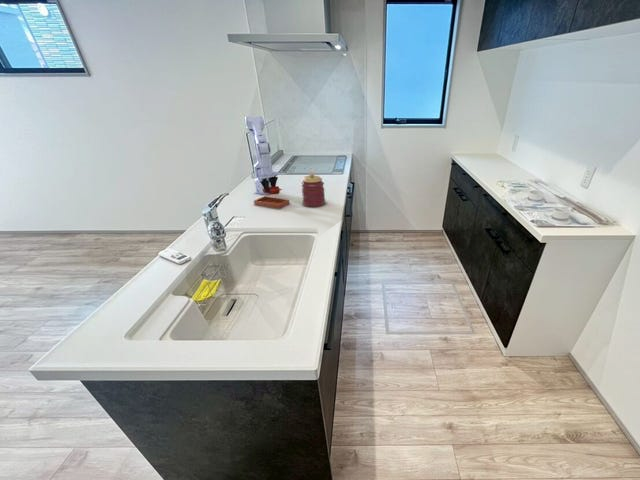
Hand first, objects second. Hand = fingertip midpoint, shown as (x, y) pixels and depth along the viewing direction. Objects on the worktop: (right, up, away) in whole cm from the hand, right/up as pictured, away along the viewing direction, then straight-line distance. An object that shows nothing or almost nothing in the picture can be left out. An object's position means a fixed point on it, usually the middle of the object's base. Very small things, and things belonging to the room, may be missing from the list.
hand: (270, 191), depth 179 cm
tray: (0, -7, +4) cm, 8 cm away
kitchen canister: (+24, -6, +5) cm, 26 cm away
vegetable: (0, -1, +1) cm, 2 cm away
